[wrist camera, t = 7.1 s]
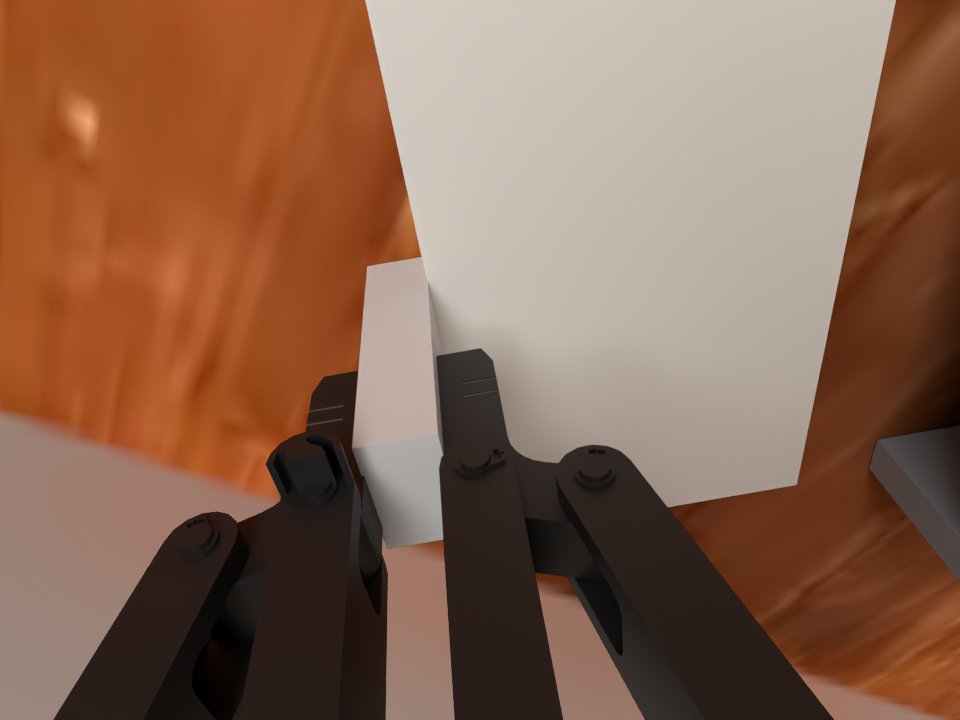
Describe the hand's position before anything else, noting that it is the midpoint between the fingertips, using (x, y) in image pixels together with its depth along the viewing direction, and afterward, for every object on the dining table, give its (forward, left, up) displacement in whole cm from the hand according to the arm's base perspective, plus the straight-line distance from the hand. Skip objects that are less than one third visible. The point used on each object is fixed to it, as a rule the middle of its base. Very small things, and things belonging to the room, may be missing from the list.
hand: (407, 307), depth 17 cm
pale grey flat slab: (0, +6, -2) cm, 6 cm away
